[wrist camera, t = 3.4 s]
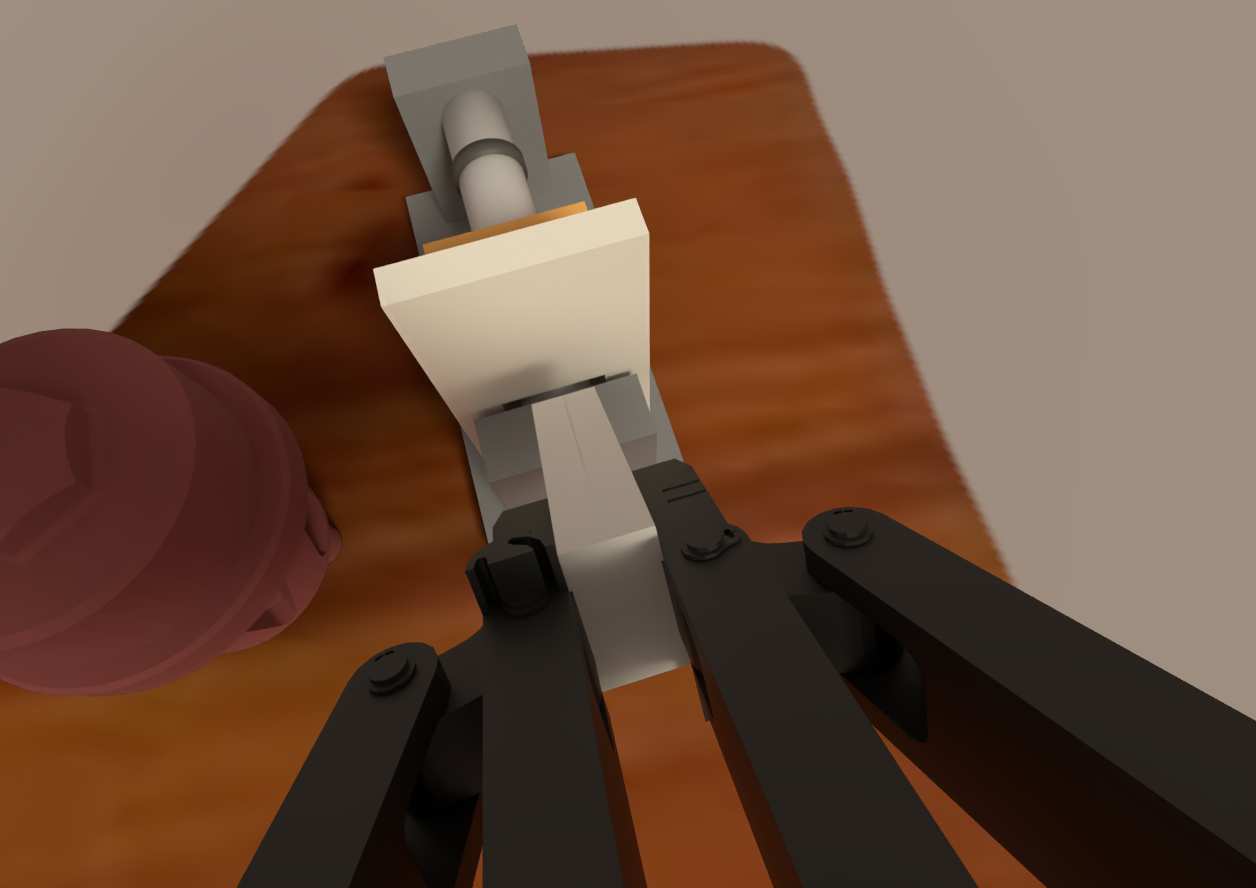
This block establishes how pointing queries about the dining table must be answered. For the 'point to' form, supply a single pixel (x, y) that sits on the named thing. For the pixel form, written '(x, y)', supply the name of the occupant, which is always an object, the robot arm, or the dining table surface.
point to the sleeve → (527, 310)
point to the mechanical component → (143, 516)
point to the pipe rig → (493, 194)
